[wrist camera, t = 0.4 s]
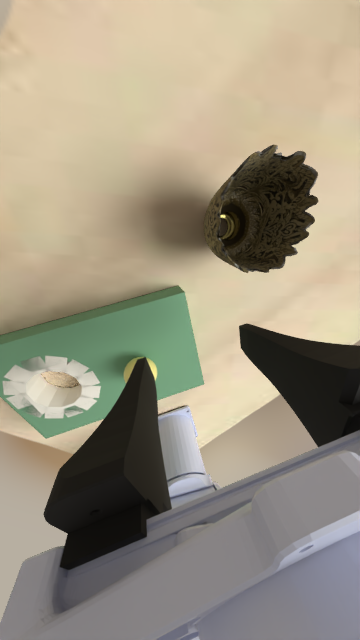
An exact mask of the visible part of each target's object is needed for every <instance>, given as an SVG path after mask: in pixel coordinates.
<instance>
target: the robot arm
mask: <svg viewBox="0 0 360 640" xmlns="http://www.w3.org/2000/svg"><path fill="white" fill-rule="evenodd" d="M239 330H240V343H241V349H242V350H243V351H244V353H245V354H246V356H247V357H248V358H249V359H250V360H251V362H252V363H253V364H254V365H255V366H256V367H257V368H258V369H259V370H260V371H261V372H262V373H263V374H264V375H265V376H266V377H267V378H268V379H269V380H270V381H271V383H272V384H273V385H274V386H275V387H276V389H277V390H278V391H279V392H280V394H281V395H282V396H283V397H284V399H285V400H286V401H287V403H288V404H289V405H290V407H291V408H292V409H293V411H294V412H295V414H296V415H297V416H298V418H299V419H300V421H301V422H302V423H303V425H304V426H305V428H306V429H307V431H308V432H309V434H310V435H311V437H312V438H313V440H314V441H315V443H316V444H317V446H318V448H316V449H313V450H311V451H309V452H306V453H304V454H301V455H299V456H297V457H294V458H292V459H289V460H287V461H285V462H282V463H280V464H278V465H275V466H273V467H270V468H268V469H266V470H264V471H261V472H259V473H256V474H254V475H251V476H249V477H247V478H244V479H242V480H240V481H237V482H235V483H232V484H230V485H228V486H225V487H223V488H222V487H221V486H220V485H219V484H218V483H217V482H212V480H211V477H210V474H206V471H205V468H204V464H203V461H202V457H201V454H200V450H199V447H198V443H197V440H196V437H197V436H198V434H197V431H196V428H195V425H194V421H193V418H192V415H191V411H190V408H189V406H185V407H182V408H179V409H176V410H173V411H171V412H168V413H165V414H162V415H159V416H158V407H157V390H156V384H155V378H154V375H153V373H152V371H151V368H150V366H149V363H148V361H147V359H146V357H144V358H141V359H137V361H136V363H135V366H134V368H133V370H132V373H131V375H130V377H129V379H128V381H127V383H126V385H125V387H124V389H123V391H122V392H121V394H120V396H119V398H118V399H117V401H116V403H115V404H114V406H113V407H112V409H111V410H110V412H109V413H108V414H107V416H106V417H105V418H104V420H103V421H102V422H101V424H100V425H99V426H98V428H97V429H96V430H95V431H94V432H93V434H92V435H91V436H90V437H89V438H88V440H87V441H86V442H85V443H84V444H83V445H82V446H81V447H80V448H79V450H78V451H77V452H76V453H75V454H74V455H73V456H72V457H71V458H70V459H69V460H68V461H67V462H66V463H65V464H64V465H63V466H62V467H61V468H60V470H59V472H58V475H57V477H56V480H55V482H54V485H53V488H52V491H51V494H50V497H49V499H48V502H47V505H46V508H45V511H44V517H45V520H46V521H47V522H48V523H49V524H50V525H52V526H54V527H56V528H58V529H60V530H62V531H64V532H66V533H68V535H67V539H66V543H65V546H60V547H55V548H52V549H49V550H47V551H45V552H42V553H40V554H37V555H35V556H33V557H30V558H28V559H26V560H25V561H24V562H23V563H22V566H21V568H20V571H19V574H18V577H17V579H16V582H15V585H14V587H13V590H12V593H11V595H10V598H9V601H8V604H7V606H6V609H5V612H4V615H3V617H2V620H1V623H0V640H360V346H355V345H341V344H331V343H324V342H317V341H310V340H305V339H300V338H295V337H291V336H287V335H283V334H280V333H276V332H273V331H270V330H266V329H263V328H260V327H257V326H254V325H250V324H244V325H241V326H239Z"/></svg>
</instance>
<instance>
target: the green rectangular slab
mask: <svg viewBox="0 0 360 640" xmlns="http://www.w3.org/2000/svg"><path fill="white" fill-rule="evenodd" d="M137 357H146V358H149V359H150V360H152V361H153V362H154V364H155V365H156V368H157V378H156V381H155V384H156V390H157V400H160V399H163V398H165V397H168V396H171V395H174V394H177V393H180V392H183V391H186V390H189V389H192V388H195V387H197V386H200V385H203V384H204V381H203V376H202V372H201V367H200V362H199V358H198V353H197V348H196V344H195V339H194V334H193V330H192V325H191V320H190V316H189V311H188V306H187V302H186V297H185V292H184V291H183V290H182V289H181V288H180V287H179V286H176V287H172V288H168V289H165V290H161V291H158V292H154V293H151V294H147V295H143V296H140V297H136V298H133V299H129V300H126V301H122V302H118V303H115V304H111V305H108V306H104V307H100V308H97V309H93V310H90V311H86V312H83V313H79V314H75V315H72V316H68V317H65V318H61V319H58V320H54V321H50V322H47V323H43V324H40V325H36V326H32V327H29V328H25V329H22V330H18V331H15V332H11V333H7V334H4V335H0V397H1V398H2V399H3V400H4V401H6V402H7V403H8V404H9V405H10V406H11V407H12V408H13V409H14V410H15V411H16V412H17V413H19V414H20V415H21V416H22V417H23V418H24V419H25V420H26V421H27V422H28V423H29V424H31V425H32V426H33V427H34V428H35V429H36V430H37V431H38V432H39V433H40V434H41V435H43V436H44V437H45V438H49V437H52V436H55V435H58V434H61V433H64V432H67V431H70V430H72V429H75V428H78V427H81V426H84V425H87V424H90V423H93V422H96V421H99V420H102V419H104V418H105V417H106V416H107V414H108V413H109V412H110V410H111V409H112V407H113V406H114V404H115V403H116V401H117V399H118V398H119V396H120V394H121V392H122V391H123V389H124V387H125V385H126V383H125V381H124V370H125V367H126V365H127V364H128V363H129V362H130V361H131V360H132V359H134V358H137ZM47 371H53V372H64V373H66V374H68V375H70V376H73V377H75V378H76V379H77V380H78V382H79V383H80V384H81V385H78V386H75V387H72V388H64V387H57V386H55V385H52V384H50V383H48V382H47V381H46V380H45V379H44V378H43V376H42V375H41V373H44V372H47Z"/></svg>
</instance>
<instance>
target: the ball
mask: <svg viewBox="0 0 360 640" xmlns="http://www.w3.org/2000/svg"><path fill="white" fill-rule="evenodd" d="M141 358H144V357H137V358H134V359H132V360H131V361H130V362H129V363H128V364H127V365H126V367H125V370H124V381H125V383H127V381H128V379H129V377H130V375H131V373H132V370H133V368H134V366H135V363H136V361H137V359H141ZM146 359H147V361H148V363H149V366H150V368H151V371H152V373H153V375H154V378H155V381H156V378H157V368H156V365H155V364H154V362H153V361H152V360H150V359H149V358H146Z"/></svg>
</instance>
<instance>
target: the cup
mask: <svg viewBox="0 0 360 640" xmlns="http://www.w3.org/2000/svg"><path fill="white" fill-rule="evenodd" d="M276 149H278V146H277V145H272V146H269V147H268V148H266V149H264V150H263V151H262V152H259V151H258V152H255V153H253V154H252V155H250V156H249V157H248V158H247V159H246V160H245V161H244V162H243V163H242V164H241V165H240V167H239V168H238V169H237V170H236V171H235V172H234V173H233V174H232V175H231V177H230V178H229V179H228V180H227V181H226V182H225V183H224V184H223V185H222V186H221V188H220V189H219V190H218V191H217V193H216V194H215V195H214V197H213V199H212V200H211V202H210V204H209V206H208V209H207V211H206V215H205V219H204V234H205V239H206V242H207V244H208V246H209V248H210V249H211V250H212V252H213V253H214V254H215V255H216V256H217V257H219V258H220V259H222V260H223V261H225V262H227V263H228V264H230V265H232V266H234V267H236V268H238V269H240V270H241V271H243V272H246V273H248V271H251V272H254V271H259V272H264V273H267V272H269V269H280V268H282V267H283V266H284V264H285V257H286V256H292V255H296V254H297V253H298V252H297V250H296V248H294V247H292V246H291V245H295V244H298V243H299V242H300V241H302V240H304V239H305V238H307V237H308V236H309V232H307V231H306V229H307V228H309V226H311V225H312V224H313V223H314V222H315V219H314V217H313V216H312V215H311V214H309V213H307V212H305V210H307V209H308V208H309V207H311V206H313V205H316V204H317V203H318V198H317V197H315V196H313V195H310V189H311V188H312V187H313V186H314V184H315V182H316V180H317V176H318V173H317V171H316V170H315V169H313V168H312V167H310V166H308V165H305V164H303V162H304V160H305V159H306V153H305V152H303V151H297V152H295V153H294V154H292V155H290V156H288V157H285V156H282V153H278V154H275V152H276ZM309 195H310V196H309ZM220 219H224V220H226V222H227V224H228V230H227V232H226V233H225V234H224V235H223V236H219V228H220V224H221V220H220Z"/></svg>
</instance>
